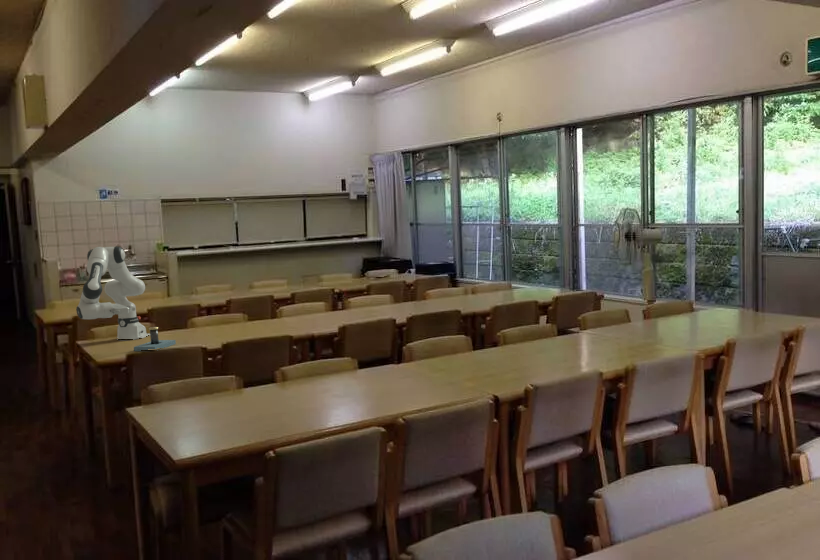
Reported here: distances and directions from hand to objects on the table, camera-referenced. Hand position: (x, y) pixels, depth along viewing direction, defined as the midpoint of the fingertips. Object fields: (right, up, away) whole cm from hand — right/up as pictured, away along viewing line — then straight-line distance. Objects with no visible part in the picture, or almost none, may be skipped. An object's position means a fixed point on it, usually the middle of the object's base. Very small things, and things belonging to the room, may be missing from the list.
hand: (132, 307), depth 425 cm
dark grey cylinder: (+10, -24, +8) cm, 27 cm away
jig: (+10, -24, +8) cm, 27 cm away
